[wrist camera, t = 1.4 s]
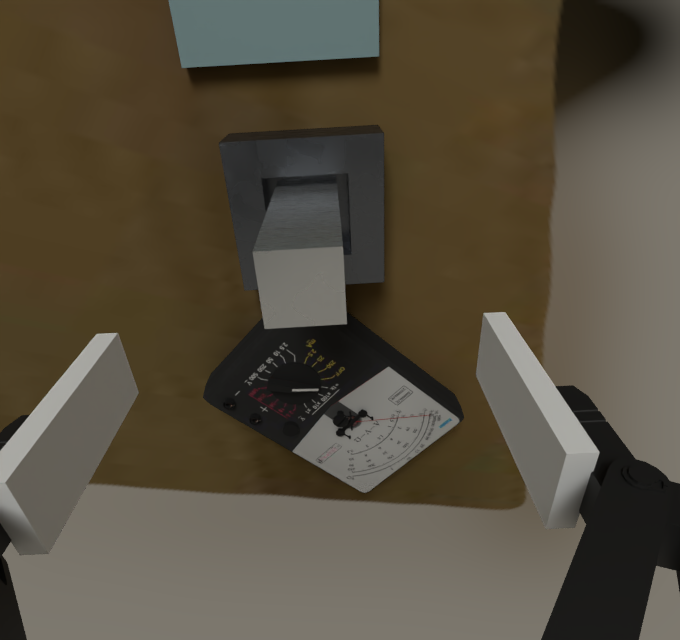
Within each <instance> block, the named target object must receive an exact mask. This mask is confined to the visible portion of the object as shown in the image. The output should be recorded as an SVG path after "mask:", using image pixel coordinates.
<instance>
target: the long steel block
mask: <svg viewBox="0 0 680 640" xmlns="http://www.w3.org/2000/svg"><path fill="white" fill-rule="evenodd" d="M253 258H254V265H255V271H256V277H257V284H258V290H259V296H260V303H261V309H262V315H263V322H264V328H265V329H273V328H290V327H307V326H324V325H340V324H347V315H346V295H345V275H344V255H343V241H342V231H341V221H340V210H339V200H338V190H337V180H336V177H322V178H305V179H288V180H278V181H277V184H276V187H275V190H274V192H273V195H272V198H271V201H270V204H269V207H268V209H267V212H266V215H265V218H264V221H263V223H262V226H261V229H260V232H259V235H258V238H257V240H256V243H255V246H254V249H253Z"/></svg>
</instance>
